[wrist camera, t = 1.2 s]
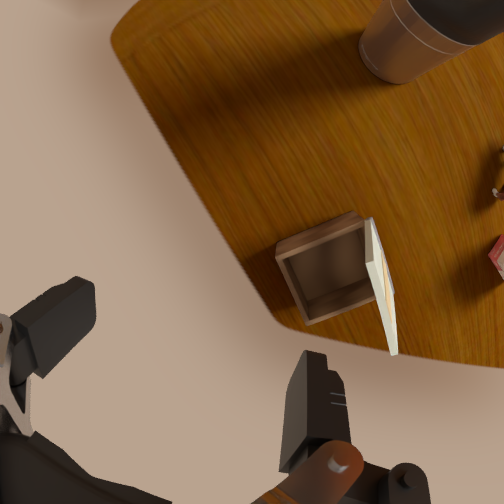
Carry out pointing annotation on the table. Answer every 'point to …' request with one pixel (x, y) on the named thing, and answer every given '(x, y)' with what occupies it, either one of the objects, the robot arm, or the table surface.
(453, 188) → the table surface
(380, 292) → the lid
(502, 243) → the ink cartridge box
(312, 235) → the box
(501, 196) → the bull figurine
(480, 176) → the table surface
